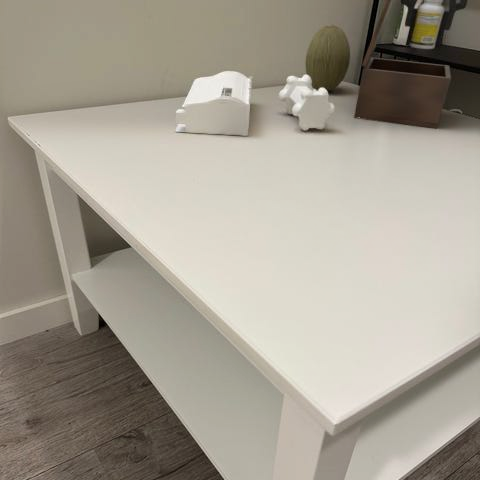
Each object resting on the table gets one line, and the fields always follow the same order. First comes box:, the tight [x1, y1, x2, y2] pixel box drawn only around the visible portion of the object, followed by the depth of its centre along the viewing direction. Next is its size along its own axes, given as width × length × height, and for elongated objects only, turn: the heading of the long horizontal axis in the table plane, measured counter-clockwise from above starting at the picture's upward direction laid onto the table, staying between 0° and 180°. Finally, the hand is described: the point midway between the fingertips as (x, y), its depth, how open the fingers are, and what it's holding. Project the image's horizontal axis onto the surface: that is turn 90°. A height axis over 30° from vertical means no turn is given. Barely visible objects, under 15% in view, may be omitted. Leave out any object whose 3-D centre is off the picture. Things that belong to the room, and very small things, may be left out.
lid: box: [361, 0, 394, 68], centre depth 102 cm, size 19×15×9 cm
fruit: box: [305, 24, 351, 92], centre depth 123 cm, size 11×11×15 cm
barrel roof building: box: [174, 70, 253, 137], centre depth 102 cm, size 25×15×7 cm, turn 178°
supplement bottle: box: [409, 0, 446, 50], centre depth 100 cm, size 5×5×10 cm
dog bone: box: [278, 73, 335, 132], centre depth 101 cm, size 15×9×8 cm, turn 10°
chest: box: [353, 56, 452, 130], centre depth 109 cm, size 18×15×10 cm
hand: (422, 45), depth 103 cm, fingers closed on supplement bottle, 5 cm apart
